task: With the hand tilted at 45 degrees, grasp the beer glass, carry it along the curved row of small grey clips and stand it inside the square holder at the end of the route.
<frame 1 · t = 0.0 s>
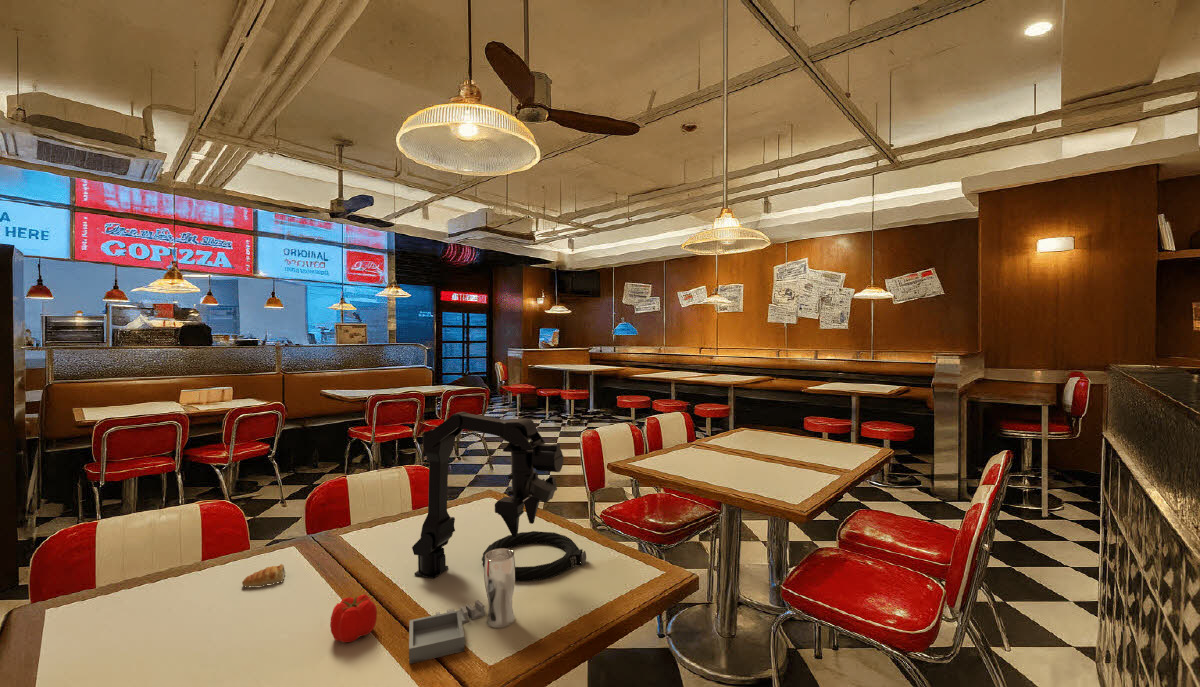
hand: (523, 529, 124), 15 cm above the table, tool pointing down, fingers open, 9 cm apart
clip 2: (459, 619, 110), on the table
tomato: (353, 635, 105), on the table
pastry: (267, 583, 129), on the table
clip 3: (444, 623, 109), on the table
cable lock: (534, 561, 140), on the table
holder: (436, 642, 102), on the table
beer glass: (500, 621, 110), on the table
clip 1: (475, 613, 113), on the table
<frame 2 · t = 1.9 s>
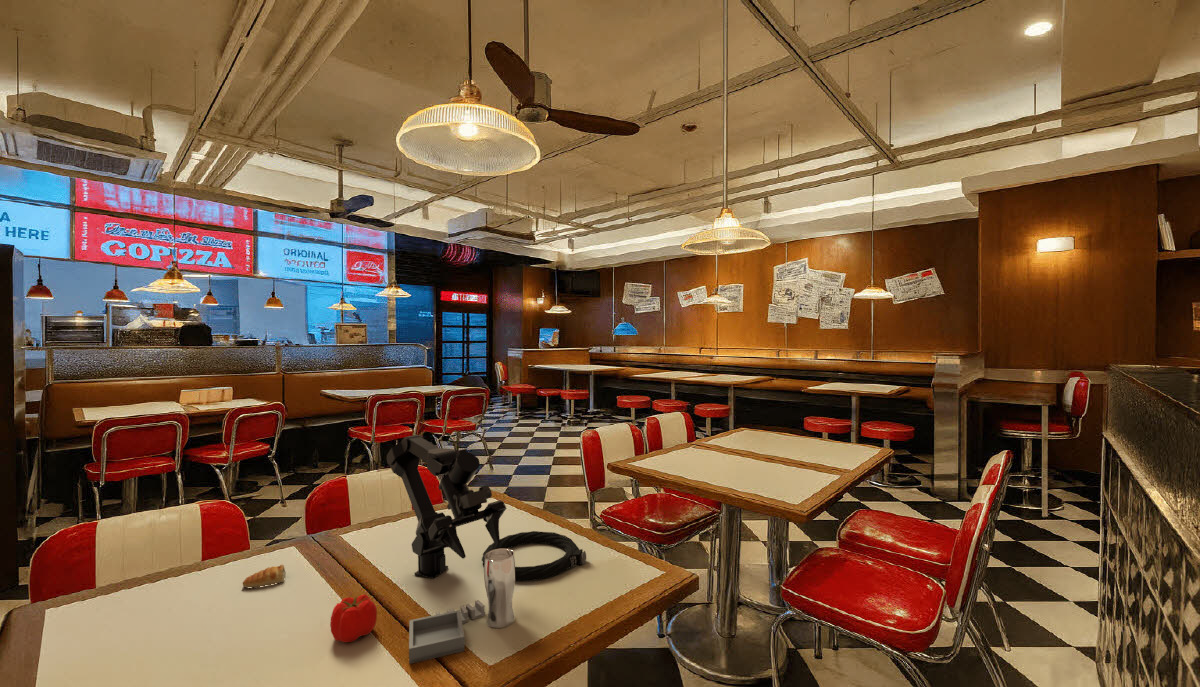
hand: (481, 551, 115), 13 cm above the table, tool tilted 45°, fingers open, 9 cm apart
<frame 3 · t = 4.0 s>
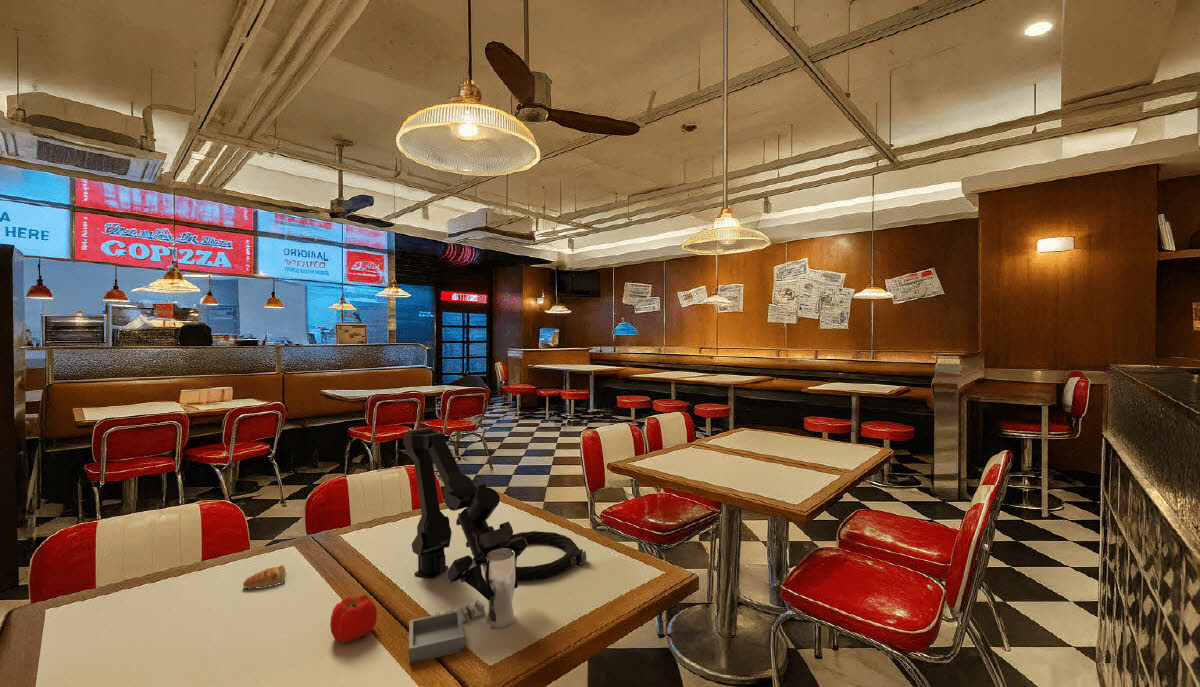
hand: (503, 593, 109), 7 cm above the table, tool tilted 45°, fingers closed on beer glass, 7 cm apart
beer glass: (500, 621, 110), on the table, touching gripper
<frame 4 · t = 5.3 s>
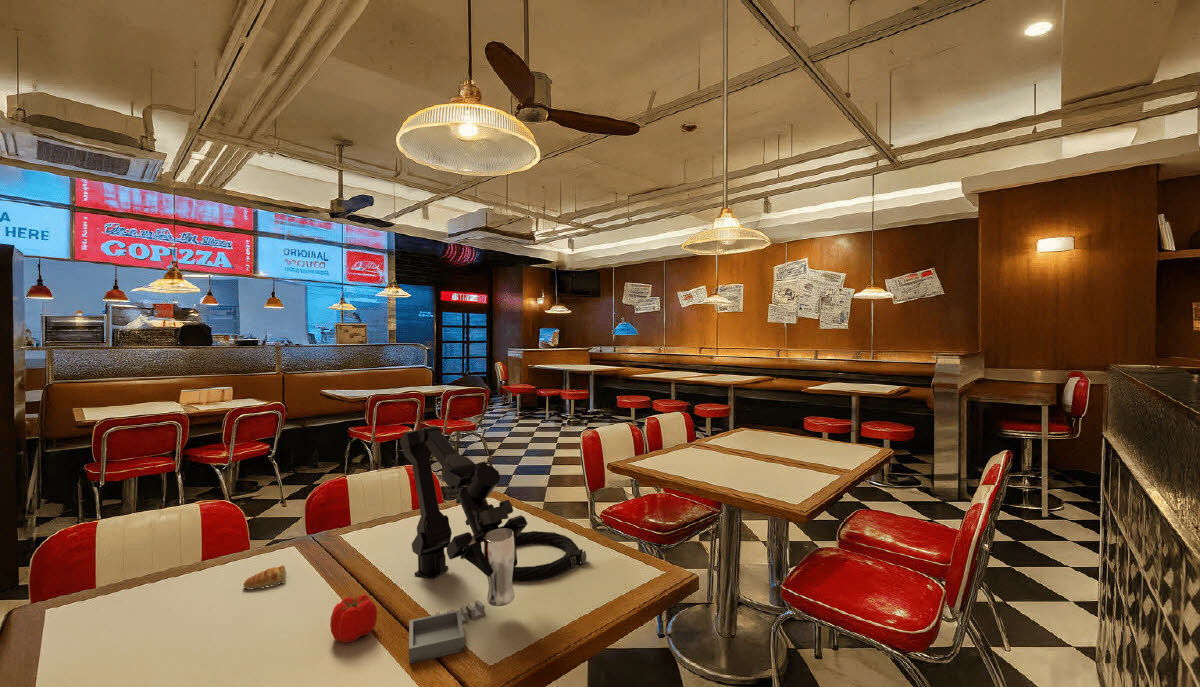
hand: (503, 570, 109), 12 cm above the table, tool tilted 45°, fingers closed on beer glass, 6 cm apart
beer glass: (501, 599, 110), point 4 cm above the table, touching gripper
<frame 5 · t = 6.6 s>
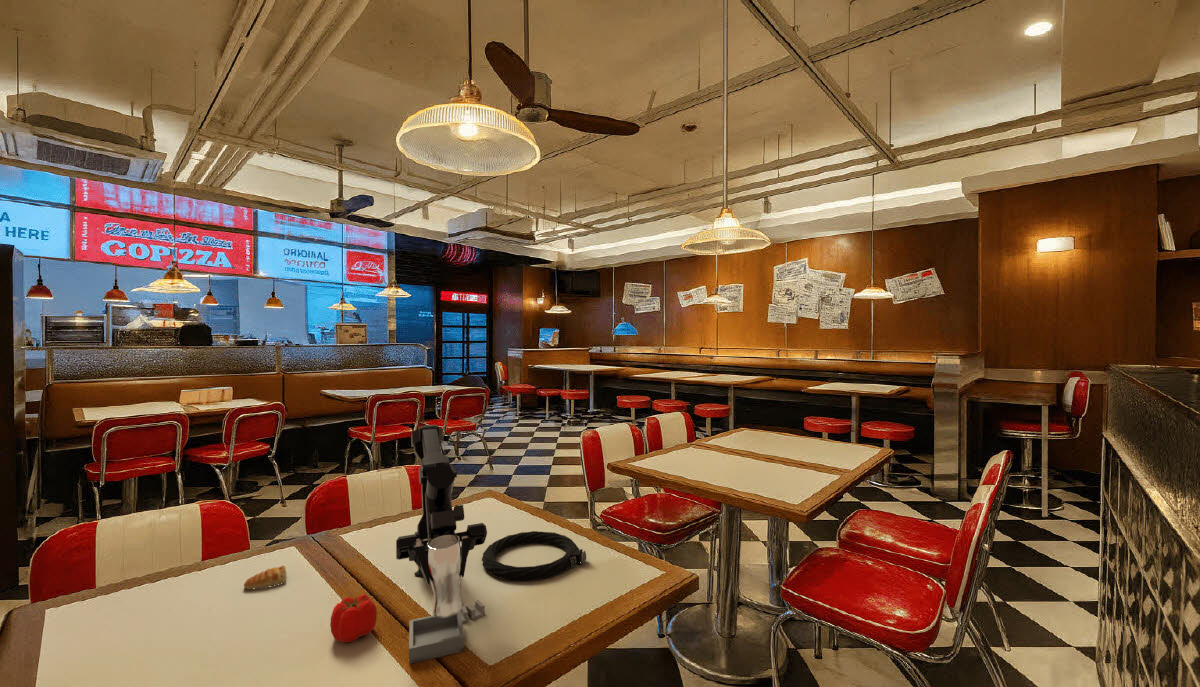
hand: (446, 580, 102), 13 cm above the table, tool tilted 45°, fingers closed on beer glass, 6 cm apart
beer glass: (448, 610, 104), point 6 cm above the table, touching gripper
when the fingers open (9 cm above the table, at t = 8.1 s): beer glass stays where it is, resting on holder.
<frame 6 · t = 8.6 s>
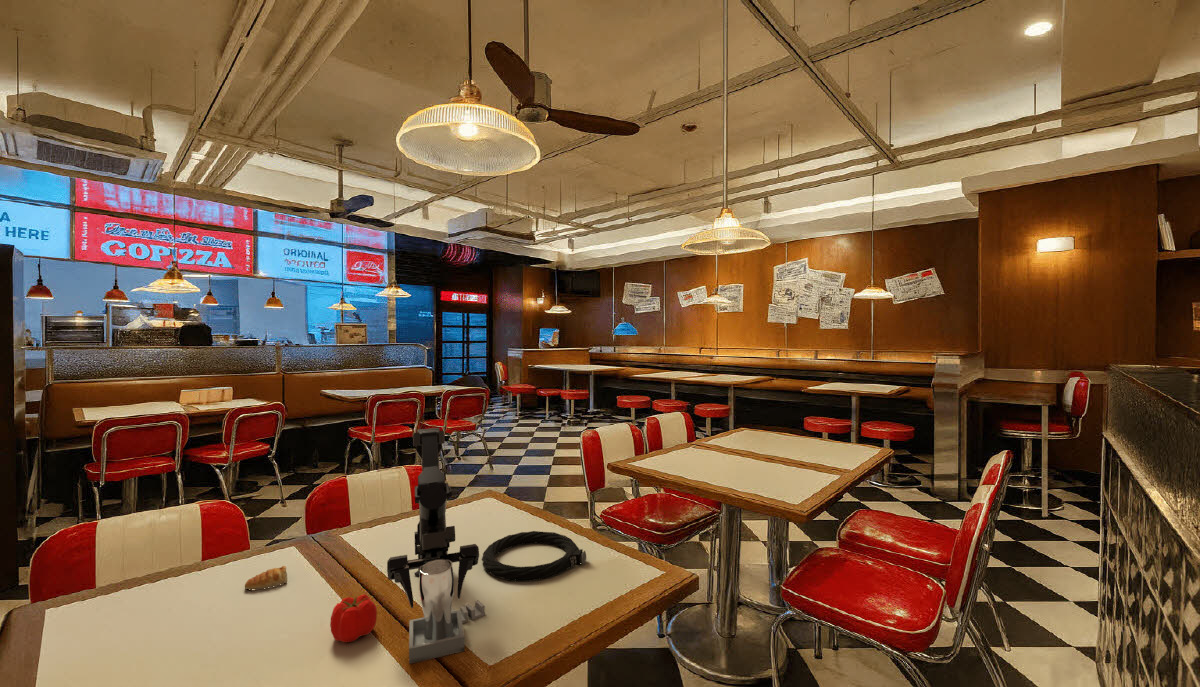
hand: (435, 602, 101), 9 cm above the table, tool tilted 45°, fingers open, 9 cm apart
beer glass: (438, 636, 103), point 1 cm above the table, touching gripper, holder
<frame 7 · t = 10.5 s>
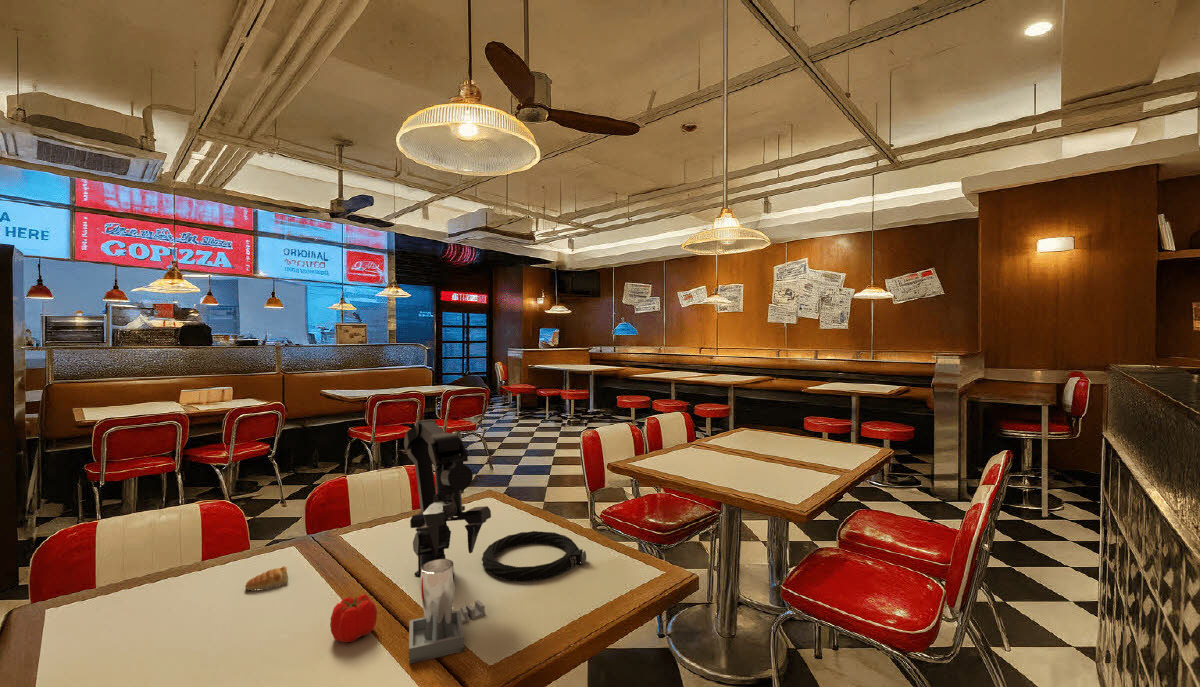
hand: (453, 554, 117), 12 cm above the table, tool pointing down, fingers open, 9 cm apart
beer glass: (438, 636, 103), point 1 cm above the table, touching holder
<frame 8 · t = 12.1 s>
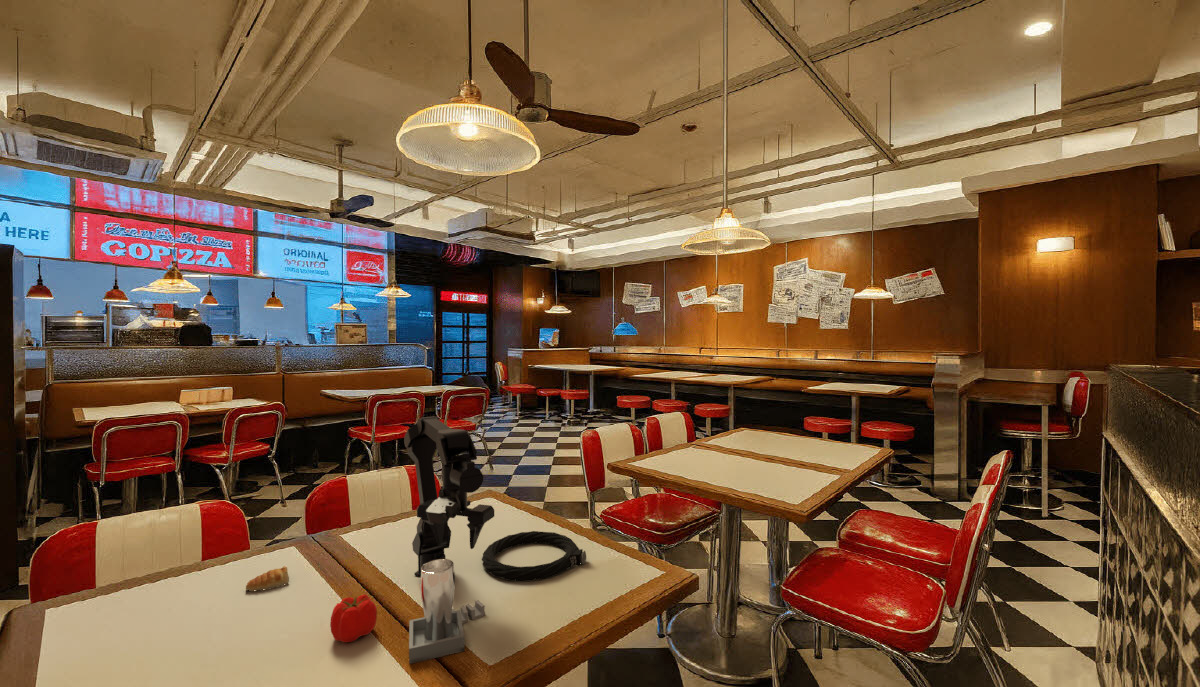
hand: (456, 546, 119), 13 cm above the table, tool pointing down, fingers open, 9 cm apart
at the end: beer glass 0.9 cm from the holder (horizontally); beer glass tilted 0°; the gripper is holding nothing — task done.
